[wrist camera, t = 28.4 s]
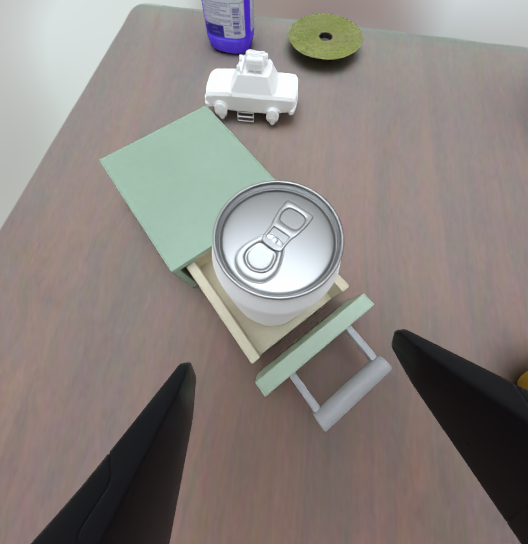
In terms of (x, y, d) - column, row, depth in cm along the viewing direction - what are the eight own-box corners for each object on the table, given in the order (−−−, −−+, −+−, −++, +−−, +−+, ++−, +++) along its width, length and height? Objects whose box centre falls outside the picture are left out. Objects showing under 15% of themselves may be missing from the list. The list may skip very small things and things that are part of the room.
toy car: (215, 92, 31) (203, 28, 25) (297, 100, 31) (305, 37, 24) (207, 122, 30) (191, 61, 23) (293, 131, 29) (301, 71, 23)
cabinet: (284, 226, 25) (289, 195, 19) (193, 288, 22) (171, 272, 17) (217, 150, 28) (206, 104, 23) (133, 197, 26) (98, 159, 20)
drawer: (389, 351, 20) (420, 355, 16) (298, 435, 18) (307, 462, 14) (272, 216, 24) (273, 192, 20) (188, 271, 22) (172, 257, 18)
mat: (314, 84, 32) (317, 68, 30) (274, 43, 35) (274, 26, 33) (372, 58, 34) (378, 42, 32) (329, 22, 36) (333, 5, 35)
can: (223, 298, 20) (169, 247, 9) (264, 249, 22) (264, 150, 10) (277, 341, 19) (297, 347, 8) (317, 286, 21) (382, 221, 9)
